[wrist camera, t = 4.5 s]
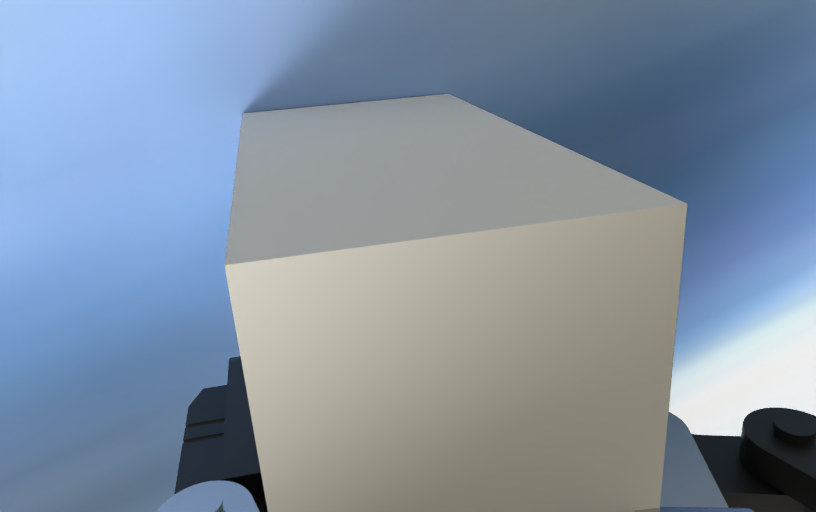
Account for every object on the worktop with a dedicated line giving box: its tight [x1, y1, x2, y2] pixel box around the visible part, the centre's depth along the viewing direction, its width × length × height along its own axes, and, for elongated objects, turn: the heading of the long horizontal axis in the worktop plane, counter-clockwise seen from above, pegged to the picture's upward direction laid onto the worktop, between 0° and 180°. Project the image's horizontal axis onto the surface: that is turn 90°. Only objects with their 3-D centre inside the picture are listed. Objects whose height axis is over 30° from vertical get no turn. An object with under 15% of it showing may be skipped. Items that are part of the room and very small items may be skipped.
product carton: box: [225, 94, 687, 512], centre depth 11 cm, size 4×10×8 cm, turn 4°
